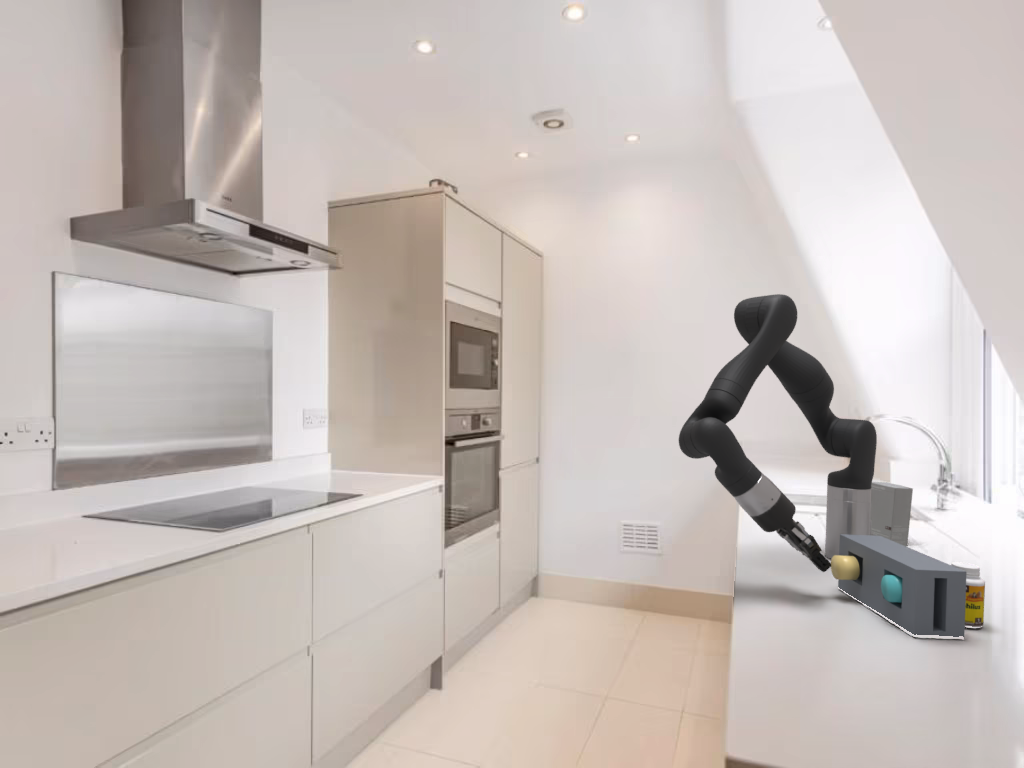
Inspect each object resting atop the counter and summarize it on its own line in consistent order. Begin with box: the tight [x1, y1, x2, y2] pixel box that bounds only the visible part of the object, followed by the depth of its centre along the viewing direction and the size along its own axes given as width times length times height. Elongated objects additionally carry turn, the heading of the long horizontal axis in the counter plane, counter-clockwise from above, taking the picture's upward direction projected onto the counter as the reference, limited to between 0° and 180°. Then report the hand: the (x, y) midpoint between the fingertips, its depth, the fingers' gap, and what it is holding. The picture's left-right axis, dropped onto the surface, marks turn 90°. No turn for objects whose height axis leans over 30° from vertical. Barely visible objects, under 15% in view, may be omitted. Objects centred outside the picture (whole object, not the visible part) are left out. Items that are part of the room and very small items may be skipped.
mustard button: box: [830, 555, 860, 581], centre depth 117 cm, size 3×4×4 cm
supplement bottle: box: [950, 561, 986, 627], centre depth 106 cm, size 6×6×10 cm
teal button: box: [881, 575, 903, 603], centre depth 105 cm, size 3×4×4 cm
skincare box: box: [870, 481, 914, 547], centre depth 165 cm, size 8×7×16 cm
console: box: [837, 534, 966, 638], centre depth 111 cm, size 8×24×11 cm, turn 179°
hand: (826, 567), depth 118 cm, fingers closed
